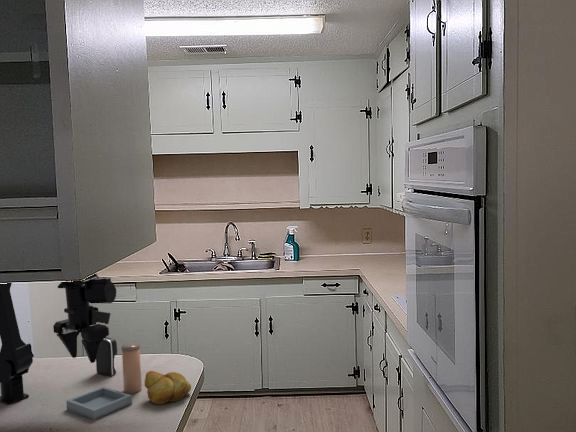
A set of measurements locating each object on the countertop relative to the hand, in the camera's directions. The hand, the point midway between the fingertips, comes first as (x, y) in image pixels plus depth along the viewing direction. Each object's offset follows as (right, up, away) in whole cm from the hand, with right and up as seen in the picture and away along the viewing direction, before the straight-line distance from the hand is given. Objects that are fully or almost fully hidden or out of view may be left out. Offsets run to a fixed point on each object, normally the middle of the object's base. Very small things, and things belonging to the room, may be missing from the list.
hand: (83, 359), depth 159 cm
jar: (+10, -12, +11) cm, 19 cm away
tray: (+4, -13, 0) cm, 13 cm away
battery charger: (-1, -11, +26) cm, 28 cm away
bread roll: (+23, -12, +5) cm, 26 cm away
